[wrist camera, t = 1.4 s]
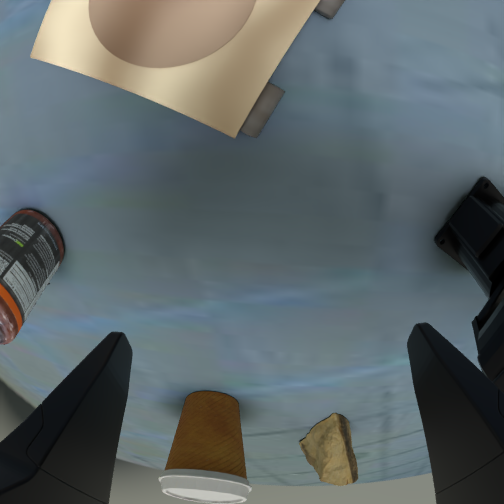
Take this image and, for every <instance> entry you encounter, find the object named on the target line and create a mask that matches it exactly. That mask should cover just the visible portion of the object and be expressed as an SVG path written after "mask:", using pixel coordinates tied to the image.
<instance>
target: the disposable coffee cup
mask: <svg viewBox="0 0 504 504" xmlns="http://www.w3.org/2000/svg"><path fill="white" fill-rule="evenodd" d="M159 481H160V482H161V487H162V491H163V492H164V493H165V494H167V495H170V496H173V497H176V498H180V499H184V500H189V501H195V502H202V503H214V504H232V503H240V502H244V501H246V499H247V496H248V492H249V491H251V490H252V488H251V486H250V485H249V481H248V480H247V476H246V467H245V458H244V449H243V442H242V432H241V423H240V413H239V403H238V402H237V401H236V400H235V399H234V398H233V397H231V396H229V395H226V394H223V393H219V392H212V391H200V392H195V393H192V394H190V395H188V396H187V397H186V400H185V404H184V407H183V410H182V414H181V417H180V420H179V424H178V427H177V430H176V434H175V437H174V440H173V444H172V447H171V450H170V454H169V457H168V461H167V464H166V468H165V471H163V472H162V475H161V476H160V477H159Z"/></svg>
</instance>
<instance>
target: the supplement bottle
mask: <svg viewBox="0 0 504 504" xmlns="http://www.w3.org/2000/svg"><path fill="white" fill-rule="evenodd" d="M63 255H64V248H63V243H62V240H61V237H60V235H59V233H58V231H57V230H56V227H55V226H54V225H53V224H52V223H51V222H50V221H49V220H48V219H47V218H46V217H44V216H43V215H41V214H40V213H38V212H35V211H33V210H21V211H18V212H16V213H15V214H14V215H12V216H11V217H10V218H9V219H8V220H7V221H6V222H5V223H4V224H3V225H2V226H1V227H0V344H4V345H5V344H8V343H10V342H11V341H13V339H14V338H15V337H16V335H17V334H18V332H19V330H20V328H21V327H22V325H23V323H24V322H25V320H26V319H27V317H28V315H29V313H30V312H31V310H32V309H33V307H34V305H35V304H36V302H37V300H38V299H39V297H40V295H41V294H42V292H43V291H44V289H45V288H46V286H47V285H48V284H50V283H49V281H50V280H51V278H52V277H53V275H54V274H55V272H56V271H57V269H58V267H59V266H60V264H61V262H62V259H63Z"/></svg>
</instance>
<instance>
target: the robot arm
mask: <svg viewBox="0 0 504 504" xmlns="http://www.w3.org/2000/svg"><path fill="white" fill-rule="evenodd" d="M485 183H486V184H485ZM484 184H485V186H484ZM440 240H442V241H440ZM435 243H436V244H437V246H438V247H439V248H441V249H442V250H443V251H444V252H446V253H447V254H448V255H450V256H451V257H452V258H453V259H455V260H456V261H457V262H458V263H460V264H461V265H462V266H463V267H465V268H466V269H467V270H468V271H470V273H471V274H472V276H473V277H474V279H475V280H476V281H477V283H478V284H479V286H480V287H481V289H482V290H483V292H484V293H485V295H486V296H487V298H488V299H489V300H488V301H487V303H486V304H485V306H484V307H483V309H482V310H481V312H480V313H479V315H478V316H476V317H475V318H474V320H473V321H472V326H473V330H474V335H475V340H476V345H477V350H478V357H477V358H478V362H479V365H480V367H481V370H482V372H483V373H482V372H481V371H480V370H479V369H478V368H477V367H476V366H475V365H474V364H473V363H472V362H471V361H470V360H469V359H467V358H466V357H465V356H464V355H463V354H462V353H461V352H460V351H459V350H458V349H457V348H455V347H454V346H453V345H452V344H451V343H450V342H449V341H448V340H447V339H446V338H444V337H443V336H442V335H441V334H440V333H439V332H438V331H437V330H435V329H434V328H433V327H432V326H431V325H430V324H428V323H417V324H416V325H415V326H414V327H413V330H412V332H411V334H410V336H409V339H408V342H407V348H408V354H409V360H410V366H411V372H412V379H413V385H414V390H415V394H416V398H417V402H418V406H419V410H420V415H421V419H422V423H423V428H424V433H425V437H426V442H427V447H428V452H429V458H430V463H431V469H432V475H433V481H434V488H435V493H436V494H435V496H436V503H437V504H504V197H503V196H502V195H501V194H500V192H499V191H498V190H497V189H496V187H495V186H494V185H493V184H492V183H491V181H490V180H488V179H487V178H486V177H483V178H481V179H480V181H479V182H478V183H477V185H476V186H475V187H474V189H473V190H472V192H471V193H470V194H469V196H468V197H467V198H466V200H465V201H464V202H463V203H462V205H461V206H460V207H459V209H458V210H457V211H456V212H455V214H454V215H453V216H452V218H451V219H450V220H449V221H448V223H447V224H446V225H445V226H444V227H443V229H442V230H441V231H440V232H439V234H438V235H437V236H436V238H435ZM131 363H132V348H131V346H130V344H129V342H128V340H127V337H126V335H125V334H124V333H123V332H111V333H110V334H108V335H107V336H106V337H105V338H104V339H103V340H102V341H101V342H100V343H99V344H98V345H97V346H96V347H95V348H94V349H93V350H92V351H91V352H90V353H89V354H88V355H87V356H86V357H85V358H84V359H83V360H82V361H81V362H80V364H79V365H78V366H77V367H76V368H75V369H74V370H73V371H72V372H71V373H70V374H69V375H68V376H67V377H66V378H65V379H64V380H63V381H62V382H61V383H60V384H59V385H58V386H57V387H56V388H55V389H54V390H53V391H52V392H51V393H50V394H49V396H48V397H47V398H46V399H45V400H44V401H43V402H42V404H40V405H39V406H38V407H37V408H36V409H35V410H34V411H33V413H32V414H31V415H29V417H27V419H26V420H25V421H24V422H22V423H21V424H20V425H19V426H18V427H17V428H16V429H15V430H14V431H13V432H11V433H10V434H9V435H8V436H7V437H6V438H5V439H4V440H2V441H1V442H0V504H109V498H110V490H111V484H112V477H113V471H114V464H115V459H116V453H117V448H118V442H119V437H120V432H121V427H122V422H123V417H124V412H125V407H126V402H127V397H128V389H129V380H130V371H131Z"/></svg>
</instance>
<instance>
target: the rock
mask: <svg viewBox="0 0 504 504" xmlns="http://www.w3.org/2000/svg"><path fill="white" fill-rule="evenodd" d="M299 445H300V446H301V449H302V451H303V453H304V454H305V456H306V459H307V461H308V462H309V464H310V465H312V466H313V467H314V469H315V470H316V472H317V473H318V475H319V477H320V478H319V479H320V480H321V481H322V482H327V483H330V484H334V485H338V486H343V485H347V484H350V483H354V482H355V481H357V479H358V468H357V462H356V458H355V455H354V452H353V449H352V441H351V431H350V427H349V422H348V420H347V419H346V418H345V417H344V416H342V415H339V414H336V413H333V414H331V416H330V417H329V418H327V419H325V420H323V421H321V422H320V423H318V424H316V426H314V427H313V428H312V429H311V431H310V433H309V434H307V436H306V438H305V439H303V440H302V441H301V442H300V443H299Z"/></svg>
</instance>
